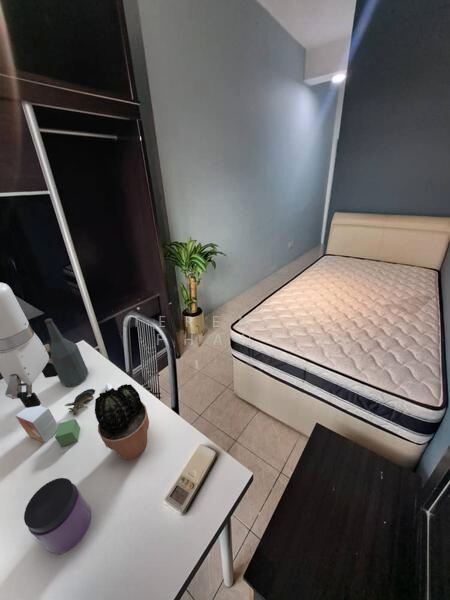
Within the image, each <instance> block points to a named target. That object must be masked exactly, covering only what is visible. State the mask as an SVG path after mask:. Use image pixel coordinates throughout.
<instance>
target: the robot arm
mask: <svg viewBox="0 0 450 600" xmlns="http://www.w3.org/2000/svg"><path fill="white" fill-rule="evenodd" d="M52 363H53V359H51V352H50V343H43V342H42V341H41V339H40V338H39V336H38V335H37V334H36V333H35V331H34V330H33V327H32V326H31V324H30V322H29V320H28V319H27V317H26V315H25V313H24V310H23V309H22V306H21V305H20V303H19V301H18V299H17V298H16V295H15V294H14V292H13V289H12V288H11V286H9V284H7V283H4V282H0V374H1V376H2V378H3V380H4V381H5V383H6V385H7V387H6V390H5V392H4V396H5V397H7V398H9V399H11V400H17V399H19V400H20V401H21V403H22V404H23V406H24V407H25V408H29V407H36V406H41V404H42V402H41V400H40V398H39V397H38V396H37V394H36V392H34V391H33V384H34V382H36V380H37V379H38V378H39V376H41V374H42V375H43V376H44V378H45V379H48V378H54V377H58V376H57V375H58V373H57V371H56V369H55V367H54V365H53V364H52ZM23 387H25V391H23Z"/></svg>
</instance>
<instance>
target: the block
mask: <svg viewBox="0 0 450 600" xmlns="http://www.w3.org/2000/svg"><path fill="white" fill-rule="evenodd" d="M80 431H81V426H80V425H79V423H78V420H77V419H76V418H73V419H70V420H66V421H62V422H59V423H58V428H57V431H56V433H55V434H54V438H55V440H56V442H57V443H58V445H59V446H60V447H64V446H67V445H70V444H74V443H77V442H78V441H79V436H80Z"/></svg>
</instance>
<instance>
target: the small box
mask: <svg viewBox="0 0 450 600" xmlns="http://www.w3.org/2000/svg"><path fill="white" fill-rule="evenodd" d="M15 418H16V419H17V420H18V422H19V424H20V425H21V426H22V428H23V430H24V431H25V433H26V434H27V436H28V437H31V438H34V439H35V440H38V441H40V442H42V443H44V444H45V443H47V442H48V441H49V440H50V439H51V438H52V437H53V436H55V435H56V431H57V428H58V425H59V423H58V422H57V419H56V418H55V417H54V415H53V413H52V411H51V410H50V408H48V407H45V406H43V405H40V406H36V407H29V408H26V407H25V408H23V409H22V410H21V411H20V412H18V413H17V414H16V415H15Z"/></svg>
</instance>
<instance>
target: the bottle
mask: <svg viewBox="0 0 450 600" xmlns="http://www.w3.org/2000/svg"><path fill="white" fill-rule="evenodd" d="M44 323H45V325H46V328H47V331H48V335H49V337H50V340H51V343H50V345H49V347H50V352H51V359H53V363H52V364H53V365H54V367H55V369H56V371H57V373H58V375H57V376H56V377H57V378H58V380H59V381H60V383H61V385H63V386H65V387H67V388H69V387H70V388H71V387H76V386H78V385H80V384H82V383H83V382H84V381H86V379H87V378H88V375H89V369H88V368H87V365H86V363H85V360H84V358H83V356H82V353H81V351H80V349H79V346H78V344H77V343H74V342H73V341H71V340H68V339H67V338H65V337H63V335H62V334H61V332H60V330H59V328H58V327H57V325H56V324H55V323H54V321H53V318H50V317H49V318H46V319H45V320H44Z"/></svg>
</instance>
